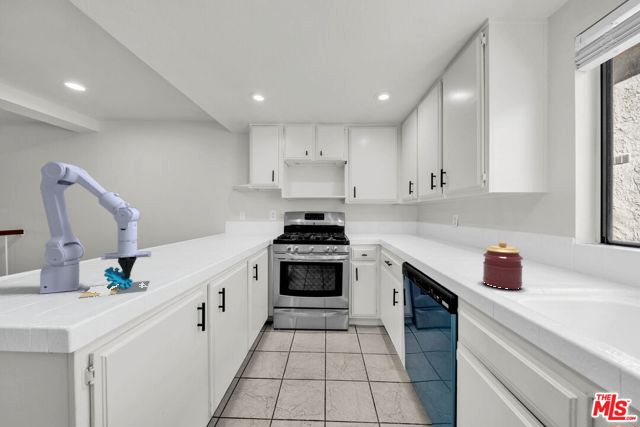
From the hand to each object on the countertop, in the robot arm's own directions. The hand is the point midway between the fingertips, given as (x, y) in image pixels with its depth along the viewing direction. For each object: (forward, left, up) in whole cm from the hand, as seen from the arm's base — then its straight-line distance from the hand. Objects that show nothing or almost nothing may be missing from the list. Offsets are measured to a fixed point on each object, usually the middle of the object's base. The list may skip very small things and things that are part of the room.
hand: (127, 278), depth 96 cm
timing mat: (-3, 0, -4) cm, 5 cm away
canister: (+129, -59, -4) cm, 142 cm away
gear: (-2, 0, -4) cm, 4 cm away
